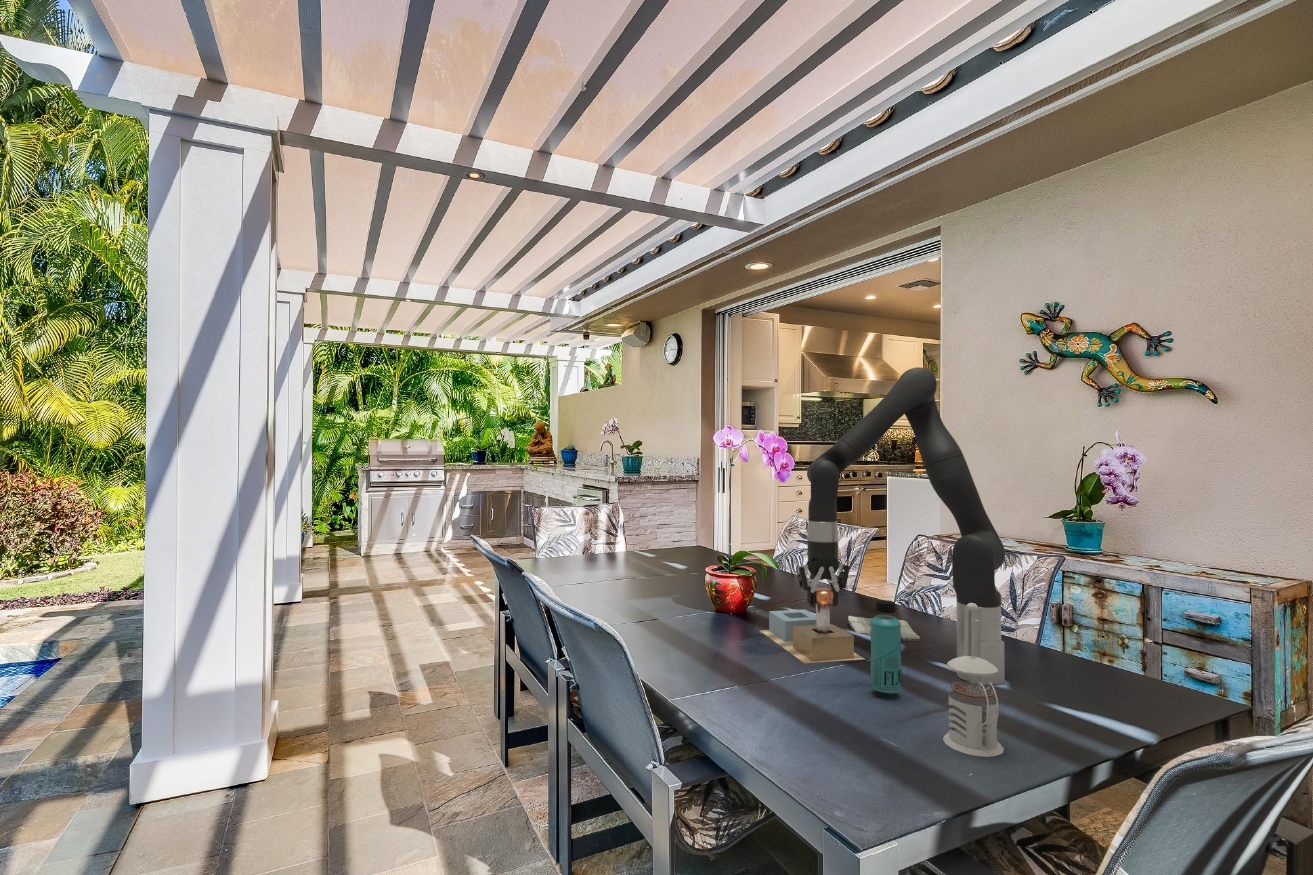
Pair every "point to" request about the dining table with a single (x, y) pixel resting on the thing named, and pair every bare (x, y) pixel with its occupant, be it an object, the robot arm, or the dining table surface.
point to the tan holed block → (823, 643)
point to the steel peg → (823, 609)
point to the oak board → (804, 659)
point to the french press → (973, 707)
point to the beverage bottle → (886, 649)
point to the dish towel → (865, 627)
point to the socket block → (789, 622)
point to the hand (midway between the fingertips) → (822, 606)
